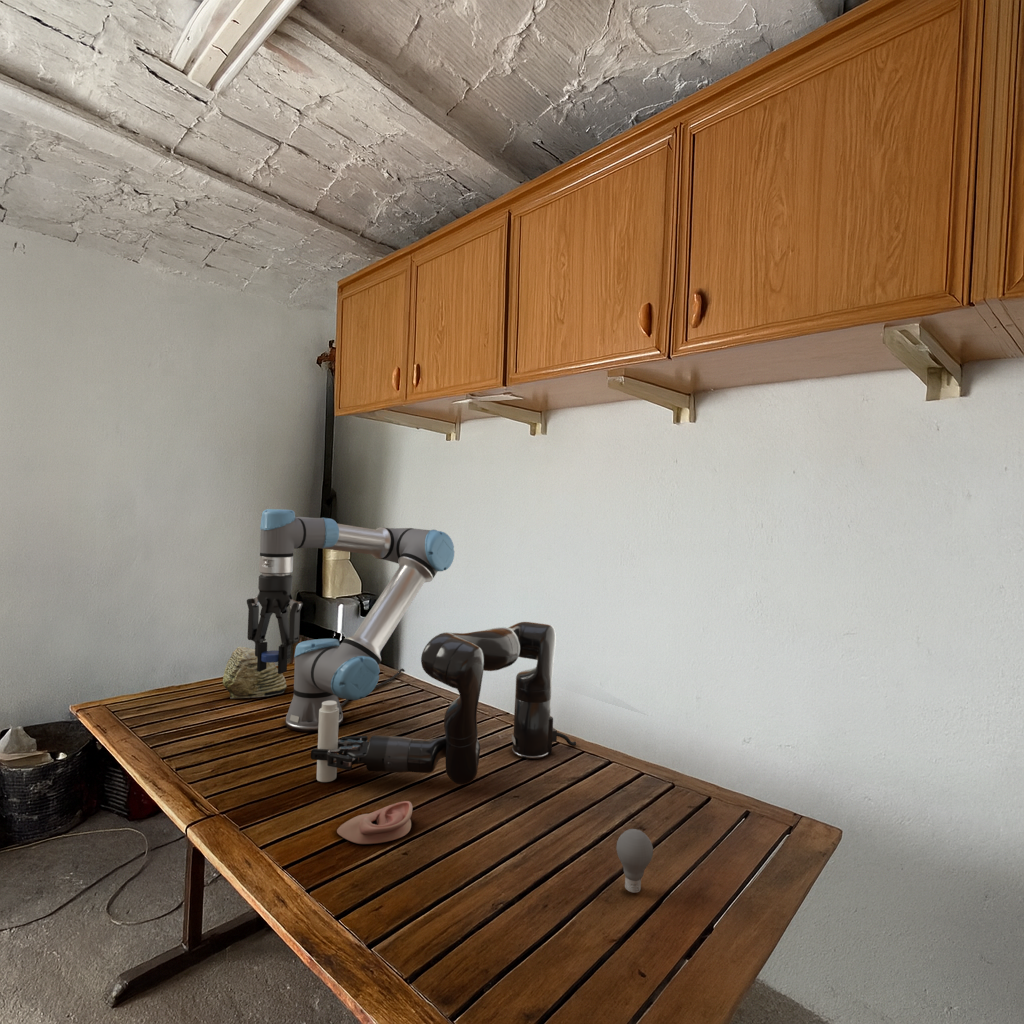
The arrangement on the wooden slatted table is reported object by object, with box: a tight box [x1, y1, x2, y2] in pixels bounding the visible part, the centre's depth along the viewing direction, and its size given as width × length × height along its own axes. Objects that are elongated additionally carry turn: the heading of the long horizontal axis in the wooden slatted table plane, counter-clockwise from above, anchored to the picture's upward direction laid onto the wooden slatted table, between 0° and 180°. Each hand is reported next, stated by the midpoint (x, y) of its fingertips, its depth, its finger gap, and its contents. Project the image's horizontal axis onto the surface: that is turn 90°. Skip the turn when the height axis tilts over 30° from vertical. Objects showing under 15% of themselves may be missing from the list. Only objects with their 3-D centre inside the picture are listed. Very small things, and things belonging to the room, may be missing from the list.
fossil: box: [222, 646, 288, 699], centre depth 198 cm, size 9×18×15 cm, turn 132°
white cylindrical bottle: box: [316, 701, 340, 783], centre depth 143 cm, size 4×4×17 cm
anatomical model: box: [336, 800, 414, 845], centre depth 121 cm, size 13×4×12 cm
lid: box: [261, 650, 279, 663], centre depth 151 cm, size 5×5×2 cm
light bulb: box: [615, 828, 654, 894], centre depth 106 cm, size 6×6×10 cm
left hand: (271, 671), depth 151 cm, fingers closed on lid, 5 cm apart
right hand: (315, 749), depth 143 cm, fingers closed on white cylindrical bottle, 4 cm apart
